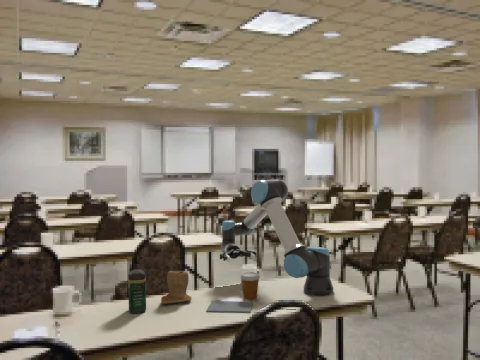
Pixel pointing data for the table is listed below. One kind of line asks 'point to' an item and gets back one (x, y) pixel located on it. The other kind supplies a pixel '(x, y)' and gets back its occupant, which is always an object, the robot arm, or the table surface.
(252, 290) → the disposable coffee cup
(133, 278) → the coffee jar
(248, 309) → the rubber mat
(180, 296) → the tan ankle boots
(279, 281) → the table surface
